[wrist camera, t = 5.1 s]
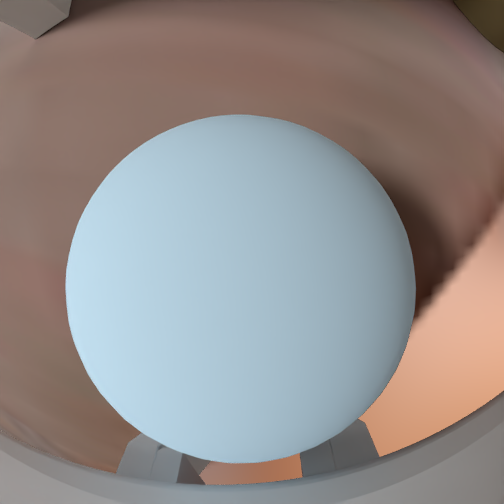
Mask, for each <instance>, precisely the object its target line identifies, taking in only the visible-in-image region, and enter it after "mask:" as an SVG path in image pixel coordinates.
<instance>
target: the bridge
mask: <svg viewBox="0 0 504 504" xmlns="http://www.w3.org/2000/svg"><path fill="white" fill-rule="evenodd" d="M71 1H72V0H0V21H2V22H4V23H6V24H8V25H10V26H12V27H14V28H16V29H18V30H20V31H21V32H23V33H25V34H27V35H29V36H31V37H33V38H34V39H36V38H38V37H39V36H40V35H42V34H43V33H44V32H46V31H47V30H49V29H50V28H52V27H53V26H55V25H56V24H58V23H59V22H61V21H62V20H64V19H65V18H67V17H68V16H69V10H70V6H71Z"/></svg>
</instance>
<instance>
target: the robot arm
mask: <svg viewBox="0 0 504 504" xmlns="http://www.w3.org/2000/svg"><path fill="white" fill-rule="evenodd" d="M300 459H301V468H302V476H303V477H302V478H296V479H290V480H283V481H275V482H266V483H256V484H236V485H206V484H205V483H204V481H203V480H202V479H201V477H200V476H199V474H200V473H201V472H202V471H203V470H204V468H205V467H206V466H207V465H208V464H209V462H210V461H211V460H205V459H201V458H197V457H194V456H191V455H188V454H184V453H181V452H178V451H176V450H174V449H171V448H169V447H167V446H165V445H163V444H161V443H159V442H157V441H155V440H154V439H152V438H150V437H148V436H146V435H145V434H143V433H141V434H140V435H138V436H137V437H136V438H134V439H133V440H131V441H130V442H129V443H128V445H127V447H126V450H125V452H124V455H123V457H122V460H121V462H120V465H119V467H118V469H117V472H116V474H114V473H110V472H106V471H102V470H98V469H94V468H91V467H87V466H84V465H81V464H77V463H74V462H71V461H68V460H66V459H63V458H60V457H57V456H55V455H52V454H49V453H47V452H44V451H42V450H40V449H37V448H35V447H33V446H31V445H28V444H26V443H24V442H22V441H20V440H18V439H16V438H14V437H12V436H10V435H8V434H6V433H5V432H3V431H1V430H0V504H504V391H503V392H501V393H500V394H499V395H497V396H496V397H495V398H493V399H492V400H490V401H489V402H488V403H486V404H485V405H483V406H482V407H480V408H479V409H477V410H476V411H474V412H472V413H471V414H469V415H468V416H466V417H464V418H463V419H461V420H459V421H458V422H456V423H454V424H452V425H451V426H449V427H447V428H445V429H443V430H441V431H439V432H437V433H435V434H433V435H431V436H429V437H427V438H425V439H423V440H421V441H419V442H416V443H414V444H412V445H410V446H407V447H405V448H402V449H400V450H398V451H395V452H393V453H390V454H387V455H384V456H382V457H379V455H378V453H377V450H376V448H375V445H374V443H373V441H372V438H371V436H370V433H369V431H368V429H367V427H366V424H365V423H364V422H363V421H361V420H359V419H357V420H355V421H354V422H353V423H352V424H351V425H349V426H348V427H347V428H346V429H344V430H343V431H342V432H340V433H339V434H337V435H335V436H334V437H332V438H330V439H328V440H327V441H325V442H323V443H321V444H319V445H318V446H316V447H314V448H311V449H308V450H306V451H303V452H300Z"/></svg>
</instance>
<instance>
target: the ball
mask: <svg viewBox="0 0 504 504" xmlns="http://www.w3.org/2000/svg"><path fill="white" fill-rule="evenodd" d="M415 297H416V282H415V272H414V263H413V257H412V251H411V248H410V244H409V240H408V237H407V233H406V230H405V228H404V226H403V223H402V221H401V219H400V217H399V215H398V212H397V210H396V209H395V207H394V205H393V203H392V201H391V199H390V198H389V196H388V195H387V193H386V192H385V190H384V189H383V187H382V186H381V184H380V183H379V182H378V181H377V180H376V178H375V177H374V176H373V175H372V174H371V173H370V172H369V171H368V169H367V168H366V167H365V166H364V165H362V164H361V163H360V162H359V161H358V160H357V159H356V158H355V157H354V156H353V155H351V154H350V153H349V152H348V151H347V150H345V149H344V148H343V147H341V146H340V145H338V144H336V143H335V142H333V141H332V140H330V139H328V138H326V137H324V136H323V135H321V134H319V133H317V132H315V131H312V130H310V129H308V128H306V127H304V126H301V125H298V124H295V123H292V122H289V121H285V120H280V119H276V118H270V117H263V116H255V115H222V116H215V117H209V118H204V119H200V120H195V121H192V122H189V123H186V124H182V125H180V126H177V127H175V128H172V129H170V130H168V131H166V132H163V133H161V134H159V135H157V136H156V137H154V138H152V139H150V140H149V141H147V142H145V143H144V144H142V145H141V146H140V147H138V148H137V149H135V150H134V151H133V152H131V153H130V154H129V155H128V156H126V157H125V158H124V159H123V160H122V161H121V162H120V163H119V164H118V165H117V166H116V167H115V168H114V169H113V170H112V171H111V172H110V173H109V174H108V175H107V177H106V178H105V179H104V180H103V182H102V183H101V185H100V186H99V187H98V189H97V190H96V192H95V193H94V195H93V196H92V198H91V199H90V201H89V203H88V205H87V206H86V208H85V210H84V212H83V214H82V216H81V218H80V221H79V223H78V225H77V228H76V231H75V234H74V237H73V241H72V245H71V249H70V253H69V258H68V264H67V270H66V302H67V311H68V320H69V325H70V329H71V333H72V336H73V340H74V343H75V346H76V348H77V351H78V353H79V355H80V358H81V360H82V362H83V364H84V367H85V369H86V371H87V373H88V375H89V376H90V378H91V380H92V381H93V383H94V384H95V386H96V387H97V389H98V390H99V392H100V393H101V394H102V395H103V396H104V398H105V399H106V400H107V401H108V402H109V403H110V404H111V405H112V407H113V408H114V409H115V410H116V411H117V412H118V413H119V414H120V415H121V416H122V417H123V418H124V419H125V420H126V421H127V422H129V423H130V424H131V425H133V426H134V427H135V428H137V429H138V430H139V431H141V432H142V433H143V434H145V435H146V436H148V437H150V438H152V439H154V440H155V441H157V442H159V443H161V444H163V445H165V446H167V447H169V448H171V449H174V450H176V451H178V452H181V453H184V454H188V455H191V456H194V457H197V458H201V459H205V460H211V461H218V462H225V463H257V462H265V461H270V460H275V459H281V458H285V457H289V456H292V455H295V454H298V453H300V452H303V451H306V450H308V449H311V448H314V447H316V446H318V445H319V444H321V443H323V442H325V441H327V440H328V439H330V438H332V437H334V436H335V435H337V434H339V433H340V432H342V431H343V430H344V429H346V428H347V427H348V426H349V425H351V424H352V423H353V422H354V421H355V420H357V419H358V418H359V417H360V416H361V415H362V414H364V413H365V411H366V410H367V409H368V408H369V407H370V406H371V405H372V403H374V401H375V400H376V399H377V398H378V397H379V396H380V394H381V393H382V392H383V390H384V389H385V387H386V386H387V384H388V383H389V381H390V379H391V378H392V376H393V374H394V373H395V371H396V369H397V367H398V365H399V362H400V360H401V358H402V355H403V353H404V351H405V348H406V345H407V342H408V338H409V334H410V330H411V326H412V321H413V317H414V311H415Z"/></svg>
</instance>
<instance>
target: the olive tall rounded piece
mask: <svg viewBox="0 0 504 504" xmlns="http://www.w3.org/2000/svg"><path fill="white" fill-rule="evenodd" d="M453 1H454V3H455V4H456V5H457V7H458V8H459V9H460V10H461V11H462V13H463V14H464V15H465V16H466V17H467V18H468V20H469V21H470V22H471V23H472V24H473V25H474V26H475V27H476V28H477V29H478V30H479V32H480V33H481V34H482V35H483V36H484V37H485V38H486V39H488V40H489V41H490V42H491V43H492V44H493V45H494V46H495V47H497V48H498V49H500V50H501V51H503V52H504V0H453Z"/></svg>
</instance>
